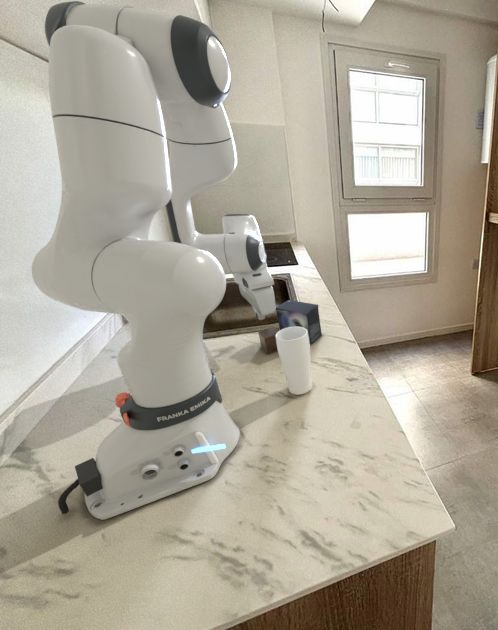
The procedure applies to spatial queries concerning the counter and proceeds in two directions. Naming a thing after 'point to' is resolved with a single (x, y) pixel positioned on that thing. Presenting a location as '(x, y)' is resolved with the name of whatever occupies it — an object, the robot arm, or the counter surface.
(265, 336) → the walnut block
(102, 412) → the counter surface
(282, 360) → the drinking glass
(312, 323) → the small box
